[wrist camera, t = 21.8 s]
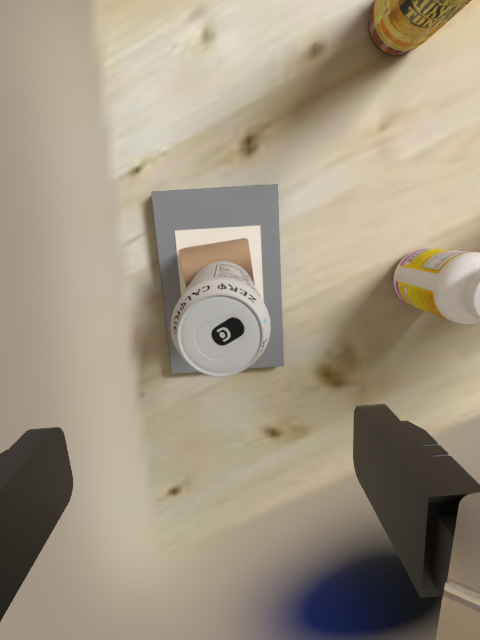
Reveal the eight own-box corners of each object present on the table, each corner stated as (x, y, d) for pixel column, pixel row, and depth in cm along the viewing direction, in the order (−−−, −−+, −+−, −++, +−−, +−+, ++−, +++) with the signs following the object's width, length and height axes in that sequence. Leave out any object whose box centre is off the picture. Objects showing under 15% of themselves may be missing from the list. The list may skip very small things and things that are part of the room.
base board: (281, 361, 44) (283, 366, 42) (173, 369, 43) (171, 374, 42) (275, 185, 39) (277, 184, 37) (153, 192, 39) (151, 191, 37)
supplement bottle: (434, 311, 43) (520, 344, 31) (382, 297, 42) (448, 325, 30) (456, 255, 41) (556, 266, 29) (403, 241, 41) (481, 245, 28)
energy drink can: (178, 282, 34) (144, 320, 20) (232, 247, 34) (238, 261, 19) (213, 333, 36) (204, 405, 21) (265, 301, 35) (293, 352, 21)
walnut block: (257, 319, 41) (261, 331, 36) (199, 328, 41) (196, 341, 36) (245, 237, 38) (247, 239, 34) (184, 247, 38) (178, 250, 34)
